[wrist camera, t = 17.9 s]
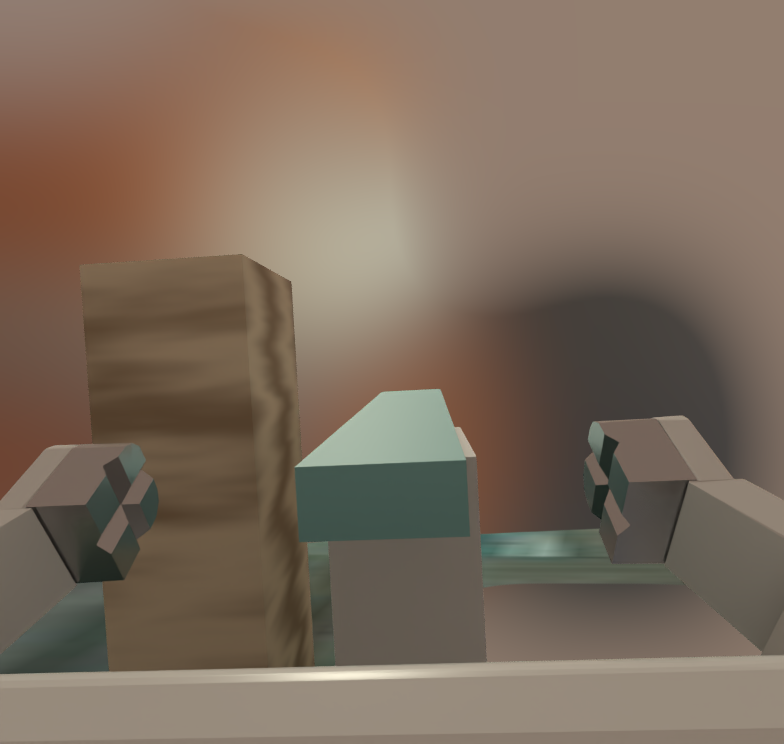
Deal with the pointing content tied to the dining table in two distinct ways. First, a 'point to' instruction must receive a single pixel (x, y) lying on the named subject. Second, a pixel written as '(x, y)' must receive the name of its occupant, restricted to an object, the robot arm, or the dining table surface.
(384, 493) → the teal board
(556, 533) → the dining table surface
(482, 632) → the grey slot box
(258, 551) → the birch stand
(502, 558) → the dining table surface
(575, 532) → the dining table surface
